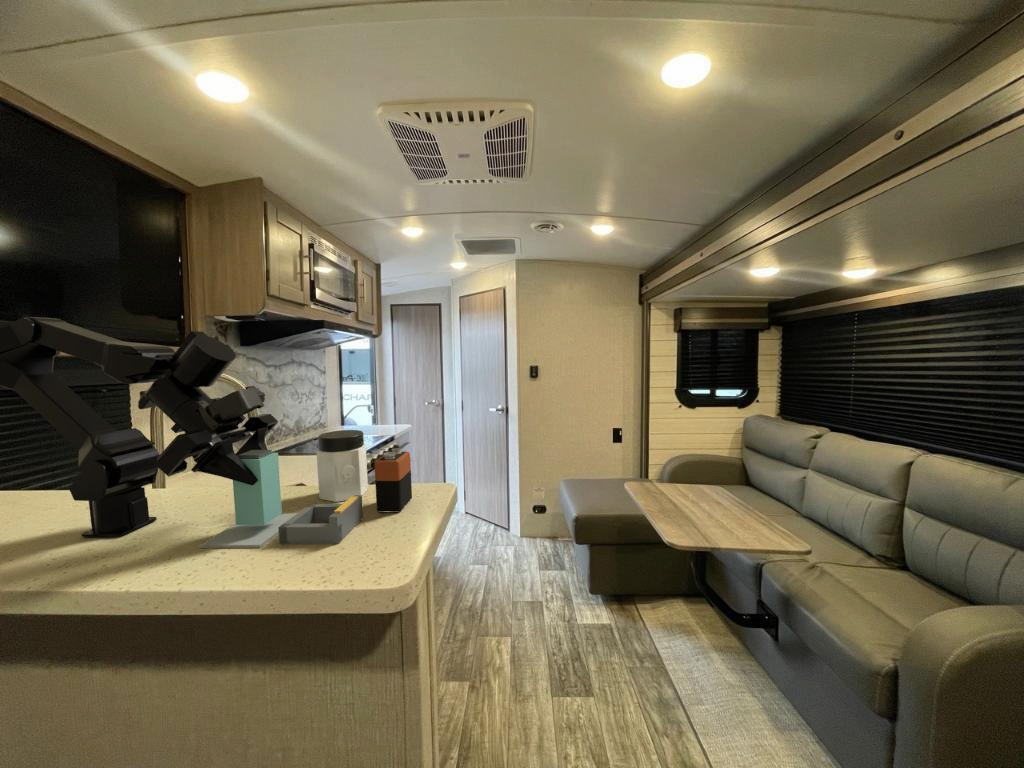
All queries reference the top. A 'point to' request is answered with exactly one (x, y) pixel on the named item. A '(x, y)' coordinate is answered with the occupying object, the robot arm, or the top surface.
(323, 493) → the jar
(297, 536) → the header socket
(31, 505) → the top surface
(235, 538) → the mat
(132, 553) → the top surface
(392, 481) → the battery
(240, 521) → the plug
